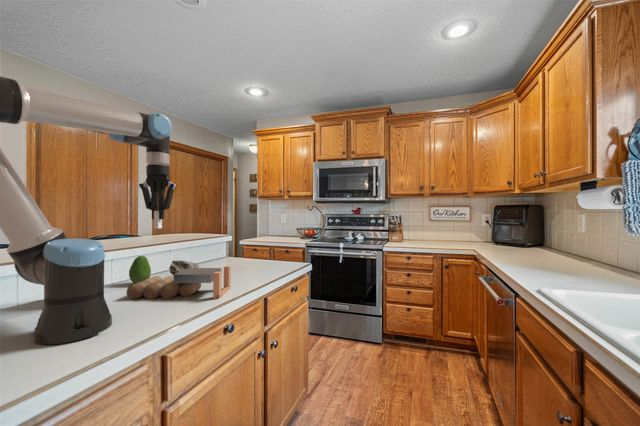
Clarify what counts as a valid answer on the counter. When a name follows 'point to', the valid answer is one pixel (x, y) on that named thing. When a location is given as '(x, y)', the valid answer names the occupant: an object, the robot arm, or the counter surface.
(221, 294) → the wooden u-shaped block
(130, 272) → the fruit
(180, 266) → the rock
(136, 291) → the brown bread rolls
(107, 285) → the counter surface
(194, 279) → the slab
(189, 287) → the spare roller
